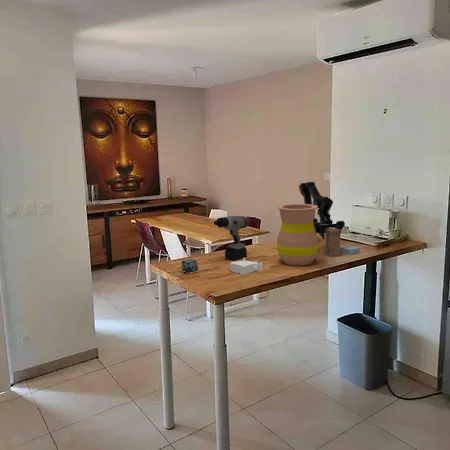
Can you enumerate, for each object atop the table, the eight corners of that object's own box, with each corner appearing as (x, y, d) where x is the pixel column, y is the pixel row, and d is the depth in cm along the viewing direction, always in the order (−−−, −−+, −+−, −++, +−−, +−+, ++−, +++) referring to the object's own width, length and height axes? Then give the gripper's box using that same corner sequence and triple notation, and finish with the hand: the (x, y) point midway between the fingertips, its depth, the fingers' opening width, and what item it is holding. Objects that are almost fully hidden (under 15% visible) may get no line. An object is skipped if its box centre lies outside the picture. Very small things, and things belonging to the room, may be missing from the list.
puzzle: (198, 272, 217) (197, 260, 216) (188, 274, 214) (187, 263, 213) (192, 269, 222) (191, 258, 221) (182, 271, 219) (181, 260, 218)
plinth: (339, 252, 246) (339, 247, 246) (349, 250, 250) (349, 245, 250) (350, 255, 240) (350, 249, 239) (360, 252, 243) (360, 247, 243)
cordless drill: (211, 263, 233) (209, 218, 229) (240, 253, 251) (239, 212, 246) (221, 265, 228) (219, 219, 223) (250, 255, 246) (249, 213, 241)
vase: (296, 269, 215) (296, 211, 210) (268, 260, 233) (267, 206, 228) (327, 262, 227) (327, 206, 222) (298, 254, 245) (298, 202, 240)
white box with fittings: (272, 275, 216) (250, 277, 205) (244, 268, 231) (222, 270, 220) (274, 260, 216) (252, 261, 204) (246, 254, 230) (224, 254, 219)
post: (325, 254, 243) (325, 228, 240) (335, 253, 244) (335, 228, 241) (329, 256, 237) (329, 230, 234) (339, 256, 238) (340, 229, 235)
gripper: (335, 223, 256) (343, 245, 248) (305, 225, 253) (312, 247, 245) (341, 212, 247) (349, 234, 239) (310, 213, 244) (317, 236, 236)
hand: (332, 238), depth 240 cm, fingers open, 9 cm apart
